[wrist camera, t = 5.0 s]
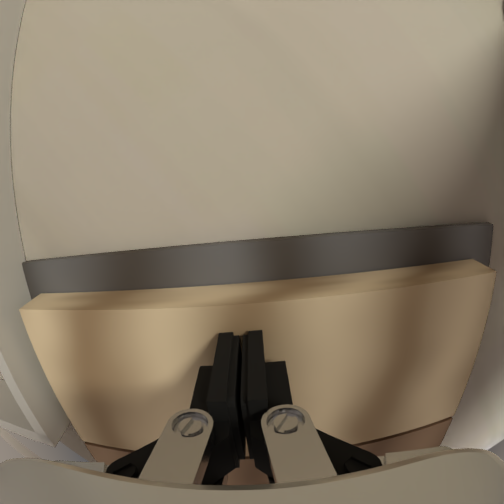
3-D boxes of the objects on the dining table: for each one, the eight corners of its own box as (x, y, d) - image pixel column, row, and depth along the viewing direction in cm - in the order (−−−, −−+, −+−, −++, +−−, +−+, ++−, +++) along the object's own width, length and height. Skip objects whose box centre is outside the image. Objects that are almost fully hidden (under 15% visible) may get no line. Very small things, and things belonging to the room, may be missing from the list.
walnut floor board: (488, 222, 12) (518, 232, 10) (414, 475, 18) (422, 494, 16) (20, 261, 13) (-8, 275, 11) (132, 495, 19) (126, 514, 16)
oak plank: (472, 258, 12) (496, 271, 10) (440, 395, 15) (453, 415, 13) (40, 293, 13) (18, 309, 11) (93, 420, 15) (82, 440, 13)
